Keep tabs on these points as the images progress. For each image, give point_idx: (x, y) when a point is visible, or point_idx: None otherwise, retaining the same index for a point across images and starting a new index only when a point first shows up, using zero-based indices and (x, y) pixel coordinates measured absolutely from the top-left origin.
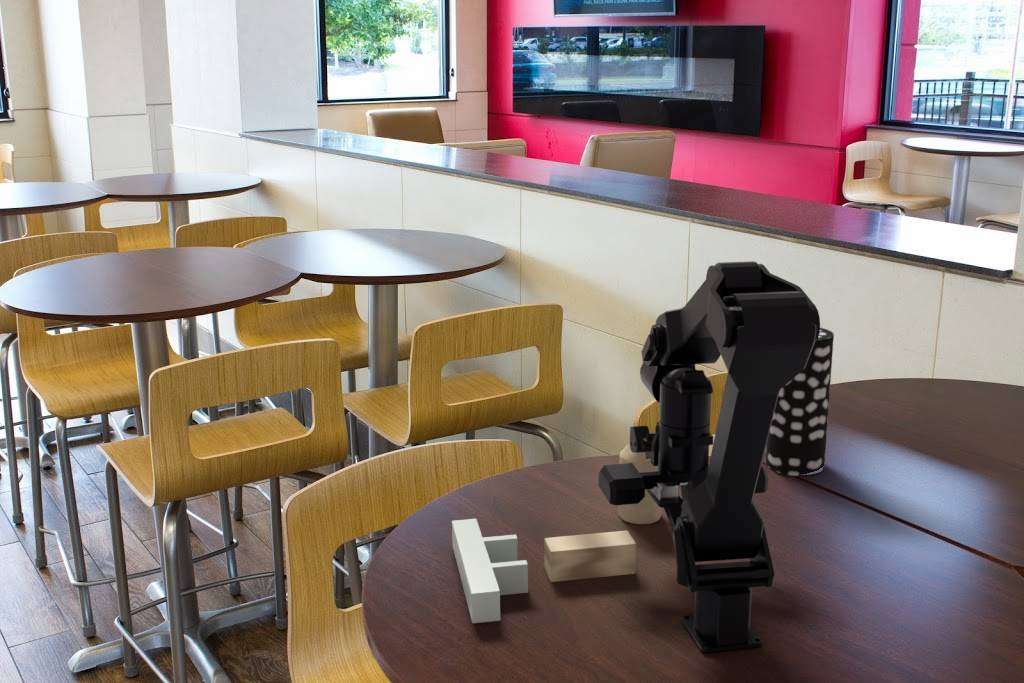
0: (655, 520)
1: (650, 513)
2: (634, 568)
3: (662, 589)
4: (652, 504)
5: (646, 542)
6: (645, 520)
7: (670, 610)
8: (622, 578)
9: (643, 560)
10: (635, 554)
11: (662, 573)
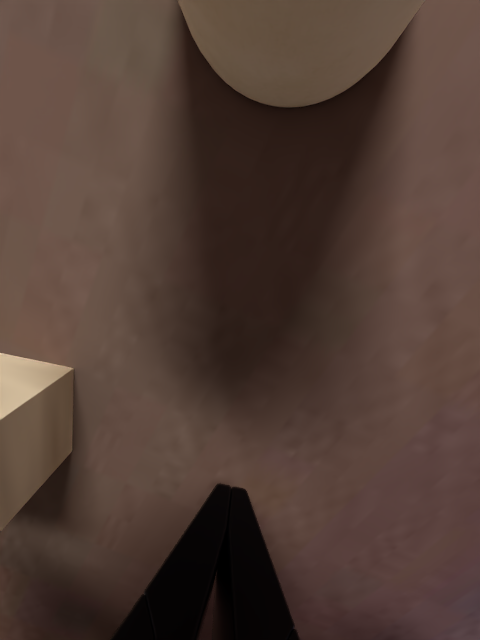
0: (330, 97)
1: (302, 79)
2: (58, 462)
3: (114, 542)
4: (325, 45)
5: (192, 280)
6: (267, 99)
7: (96, 610)
8: None
9: (125, 395)
10: (20, 508)
11: (149, 481)
